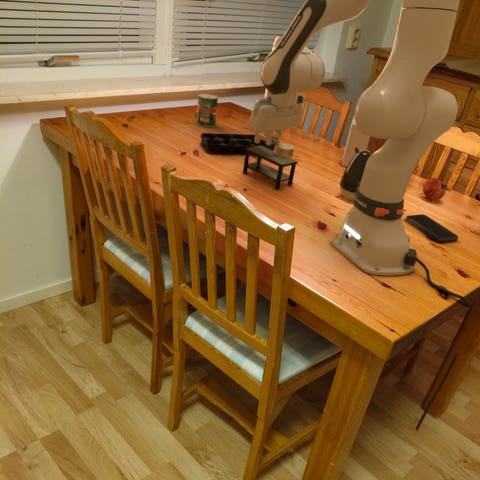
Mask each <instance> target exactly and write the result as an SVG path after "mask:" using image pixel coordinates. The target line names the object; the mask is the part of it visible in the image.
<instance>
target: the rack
mask: <svg viewBox="0 0 480 480" xmlns="http://www.w3.org/2000/svg"><path fill="white" fill-rule="evenodd" d="M245 151H246V153H245V155H244V160H243V168H242V169H243V170H242V173H243V174H244V175H246V174H248V170H251V171H252V172H255V173H257V174H259V175H261V176H263V177H265V178H267V179H269V180H272V181H274V182H275V186H274V189H275V190H280V188H281V183H284V182H287V186H289V187H292V186H293V182H294V176H295V171H296V166H297V165H298V160H296V159H293V158H292V157H281V156H278V155H276V154H274V151H273V150H270V149H268V148H266V147H263V146H261V145H260V146H255V147H250V148H245ZM250 155H253V156H255V157H256V161H254V162H253V161H252V162H250V163H249V161H250ZM262 160H263V161H266V162H269V163H271V164H273V165H275V166H277V167H278V169H277V168H274V167H272V166H270V165H269V164H266V163H264V162H262ZM286 167H290V170H289V172H290V173H289V174H287V173H286V172H283V171H284V168H286Z"/></svg>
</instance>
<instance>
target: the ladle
mask: <svg viewBox="0 0 480 480" xmlns="http://www.w3.org/2000/svg"><path fill="white" fill-rule="evenodd" d="M254 135H255V139H254V143H257V144H258V143H260V139H262V140H264V141H266V139H267V138H266V136H265V134H264V133H255V132H254ZM272 139H273V138H272ZM273 144H274V145H275V146H274V154H276V155H278V156H281V157H289V158H292V157H293V155H294V151H295V146H294V145H292V144H290V143H287V142H286V143H285V142H281V141H280V140H279V141H278V140H275V139H274V141H273Z"/></svg>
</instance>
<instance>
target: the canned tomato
mask: <svg viewBox="0 0 480 480" xmlns="http://www.w3.org/2000/svg"><path fill="white" fill-rule="evenodd" d="M197 96H198V99H197V110H196V111H197V112H196V123H195V124H196V125H197V126H199V127H203V128H214V127H216V123H217V113H218V103H219V102H218V101H219V96H218V95H216V94H212V93H204V92H202V93H198V95H197Z"/></svg>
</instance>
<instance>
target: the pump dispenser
mask: <svg viewBox="0 0 480 480" xmlns="http://www.w3.org/2000/svg"><path fill="white" fill-rule="evenodd" d="M355 152H356V155H355V156H354V157H353V158H352V159H351V161H350V162H349V164H348V166H347V167H346V168H345V170H344V172H343V173H342V176H341V178H340V181H339V187H340V189H339V190H340V194H341V195H342V197H343V198H345V200H348V201H349V202H350V201H351V202H353V200H354V196H355V193H356V191H357V189H358V188H359V186H360V183H361V180H362V176H363V173H364V169H365V166H366V162H367V160H368V158H369V157H370V156H371V155H372V154H373V153H372V151H369V150H367V149H366V150H361V151H359V149H358V148H355Z"/></svg>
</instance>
